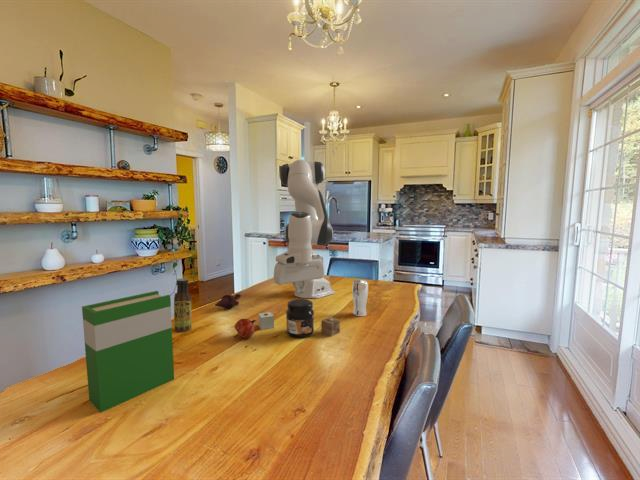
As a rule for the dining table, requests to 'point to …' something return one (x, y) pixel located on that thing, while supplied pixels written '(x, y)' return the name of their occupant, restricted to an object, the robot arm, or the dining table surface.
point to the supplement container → (300, 318)
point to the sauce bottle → (182, 306)
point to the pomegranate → (245, 328)
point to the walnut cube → (330, 326)
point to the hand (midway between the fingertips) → (300, 292)
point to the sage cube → (266, 320)
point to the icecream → (228, 301)
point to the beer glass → (360, 297)
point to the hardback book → (127, 347)
